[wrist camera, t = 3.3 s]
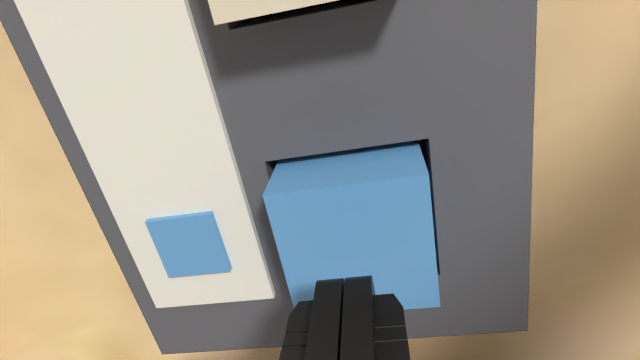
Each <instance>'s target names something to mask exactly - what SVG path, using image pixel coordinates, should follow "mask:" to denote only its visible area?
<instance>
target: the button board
mask: <svg viewBox="0 0 640 360" xmlns="http://www.w3.org/2000/svg"><path fill="white" fill-rule="evenodd" d="M0 21H1V23H2V25H3V27H4V29H5V31H6V33H7V35H8V37H9V39H10V41H11V43H12V45H13V48H14V50H15V52H16V54H17V56H18V58H19V60H20V62H21V64H22V66H23V68H24V70H25V72H26V74H27V76H28V78H29V81H30V83H31V85H32V87H33V89H34V91H35V93H36V95H37V97H38V99H39V101H40V103H41V105H42V107H43V109H44V111H45V114H46V116H47V118H48V120H49V122H50V124H51V126H52V128H53V130H54V132H55V134H56V136H57V138H58V140H59V142H60V144H61V147H62V149H63V151H64V153H65V155H66V157H67V159H68V161H69V163H70V165H71V167H72V169H73V171H74V173H75V175H76V177H77V180H78V182H79V184H80V186H81V188H82V190H83V192H84V194H85V196H86V198H87V200H88V202H89V204H90V206H91V208H92V210H93V213H94V215H95V217H96V219H97V221H98V223H99V225H100V227H101V229H102V231H103V233H104V235H105V237H106V239H107V241H108V243H109V246H110V248H111V250H112V252H113V254H114V256H115V258H116V260H117V262H118V264H119V266H120V268H121V270H122V272H123V274H124V276H125V278H126V281H127V283H128V285H129V287H130V289H131V291H132V293H133V295H134V297H135V299H136V301H137V303H138V305H139V307H140V309H141V311H142V314H143V316H144V318H145V320H146V322H147V324H148V326H149V328H150V330H151V332H152V334H153V336H154V338H155V340H156V342H157V344H158V347H159V349H160V351H161V353H162V354H176V353H191V352H207V351H222V350H238V349H253V348H269V347H282V345H283V340H284V336H285V331H286V326H287V321H288V316H289V315H290V313H291V312H292V311H293V309H294V306H293V303H292V299H291V296H290V292H289V288H288V285H287V281H286V278H285V274H284V271H283V267H282V264H281V260H280V256H279V253H278V249H277V246H276V242H275V239H274V235H273V231H272V228H271V224H270V221H269V217H268V214H267V210H266V207H265V203H264V199H263V196H262V195H263V193H264V191H265V189H266V186H267V184H268V182H269V180H270V178H271V175H272V173H273V171H274V169H275V167H276V165H277V162H278V160H280V159H287V158H294V157H301V156H308V155H315V154H322V153H329V152H337V151H344V150H351V149H358V148H365V147H372V146H379V145H386V144H393V143H400V142H407V141H414V140H421V147H422V155H423V158H424V161H425V164H426V167H427V170H428V173H429V181H430V192H431V204H432V215H433V227H434V239H435V250H436V262H437V273H438V285H439V296H440V307H432V308H419V309H405V310H404V316H405V323H406V331H407V338H408V339H409V338H424V337H440V336H456V335H471V334H487V333H502V332H518V331H527V327H528V293H529V260H530V226H531V192H532V158H533V125H534V91H535V57H536V23H537V0H351V1H346V2H341V3H336V4H331V5H326V6H321V7H316V8H311V9H306V10H301V11H296V12H291V13H286V14H281V15H276V16H271V17H266V18H261V19H256V20H252V18H248V19H243V20H238V21H233V22H228V23H223V24H218V25H214V21H213V18H212V14H211V11H210V7H209V3H208V0H0Z"/></svg>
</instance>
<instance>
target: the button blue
mask: <svg viewBox="0 0 640 360" xmlns="http://www.w3.org/2000/svg"><path fill="white" fill-rule="evenodd" d="M262 196H263V199H264V203H265V207H266V210H267V214H268V217H269V221H270V224H271V228H272V231H273V235H274V239H275V242H276V246H277V249H278V253H279V256H280V260H281V264H282V267H283V271H284V274H285V278H286V281H287V285H288V288H289V292H290V296H291V299H292V303H293V306H294V308H295V306H296V305H297V304H298V302H299V301H310V300H313V298H314V291H315V285H316V281H317V280H327V279H338V278H344V280H345V278H348V277H359V276H370V275H372V278H373V284H374V290H375V295H380V294H392V293H394V295H395V296H396V298H397V299H398V300H399V302H400V303H401V305H402V306H403V308H404V310H405V309H419V308H432V307H440V296H439V285H438V273H437V262H436V250H435V239H434V227H433V215H432V204H431V192H430V181H429V173H428V170H427V167H426V164H425V161H424V158H423V155H422V151H421V148H420V145H419V142H418V140H414V141H407V142H400V143H393V144H386V145H379V146H372V147H365V148H358V149H351V150H344V151H337V152H329V153H322V154H315V155H308V156H301V157H294V158H287V159H280V160H278V162H277V165H276V167H275V169H274V171H273V173H272V175H271V178H270V180H269V182H268V184H267V186H266V189H265V191H264V193H263V195H262Z"/></svg>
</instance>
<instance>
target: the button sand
mask: <svg viewBox="0 0 640 360" xmlns="http://www.w3.org/2000/svg"><path fill="white" fill-rule="evenodd" d="M332 1H337V0H208V3H209V7H210V11H211V14H212V18H213V21H214V25H218V24H223V23H228V22H233V21H238V20H243V19H248V18H253V17H258V16H263V15H268V14H273V13H278V12H283V11H288V10H292V9H297V8H302V7H307V6H312V5H317V4H322V3H327V2H332Z"/></svg>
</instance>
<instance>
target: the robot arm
mask: <svg viewBox="0 0 640 360" xmlns="http://www.w3.org/2000/svg"><path fill="white" fill-rule="evenodd" d="M279 360H410V354H409V346H408V338H407V331H406V323H405V316H404V308H403V306H402V305H401V303H400V302H399V300H398V299H397V298H396V296H395V295H394V293H392V294H380V295H375V290H374V284H373V278H372V275H370V276H359V277H348V278H345V280H344V278H338V279H327V280H317V281H316V285H315V291H314V298H313V300H310V301H299V302H298V304H297V305H296V306H295V308H294V309H293V311H292V312H291V313H290V315H289V316H288V321H287V326H286V331H285V336H284V340H283V345H282V350H281V354H280V359H279Z"/></svg>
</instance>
